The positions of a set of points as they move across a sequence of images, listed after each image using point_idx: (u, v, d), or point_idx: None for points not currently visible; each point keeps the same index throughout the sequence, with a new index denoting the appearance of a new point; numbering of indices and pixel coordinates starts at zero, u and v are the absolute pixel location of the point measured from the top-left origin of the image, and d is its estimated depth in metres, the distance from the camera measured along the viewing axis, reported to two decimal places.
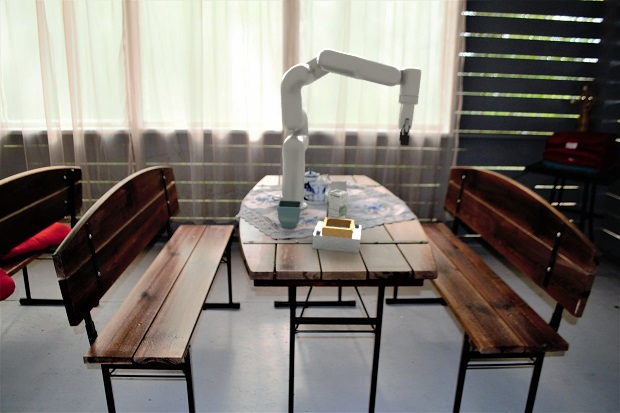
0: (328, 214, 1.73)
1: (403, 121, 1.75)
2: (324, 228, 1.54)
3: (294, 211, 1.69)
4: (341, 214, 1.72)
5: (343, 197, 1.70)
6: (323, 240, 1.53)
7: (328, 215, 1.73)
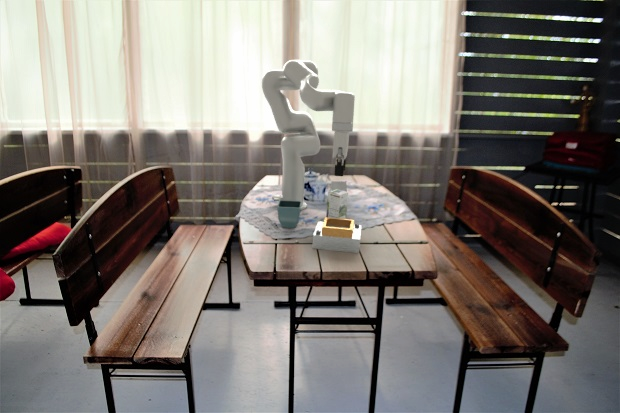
0: (328, 214, 1.73)
1: (336, 150, 1.61)
2: (324, 228, 1.54)
3: (294, 211, 1.69)
4: (342, 214, 1.72)
5: (343, 197, 1.70)
6: (323, 240, 1.53)
7: (328, 215, 1.73)
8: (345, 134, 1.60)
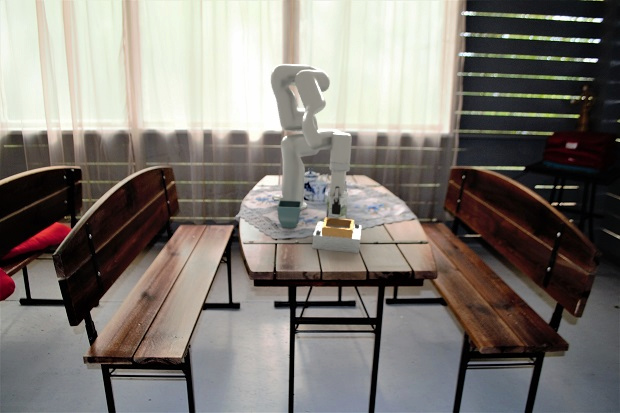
0: (328, 214, 1.73)
1: (333, 189, 1.66)
2: (324, 228, 1.54)
3: (294, 211, 1.69)
4: (342, 214, 1.72)
5: (343, 197, 1.70)
6: (323, 240, 1.53)
7: (328, 215, 1.73)
8: (342, 174, 1.65)
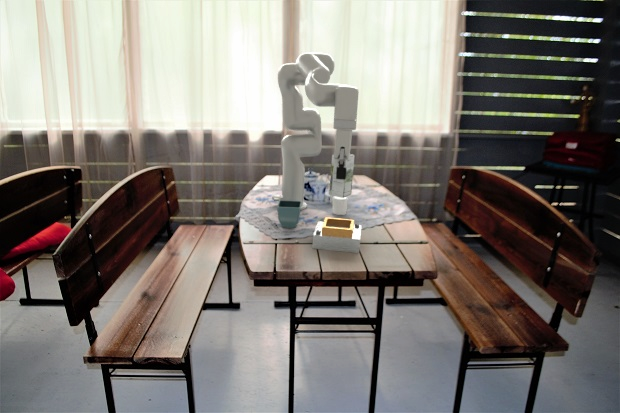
0: (332, 180, 1.54)
1: (338, 150, 1.47)
2: (324, 228, 1.54)
3: (294, 211, 1.69)
4: (347, 179, 1.53)
5: (349, 159, 1.50)
6: (323, 240, 1.53)
7: (332, 181, 1.54)
8: (348, 132, 1.46)
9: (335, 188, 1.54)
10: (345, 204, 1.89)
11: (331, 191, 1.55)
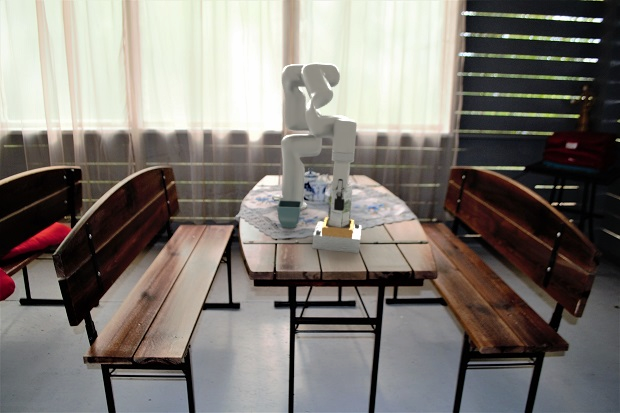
0: (330, 210, 1.55)
1: (336, 182, 1.49)
2: (324, 228, 1.54)
3: (294, 211, 1.69)
4: (345, 210, 1.54)
5: (347, 190, 1.52)
6: (323, 240, 1.53)
7: (330, 211, 1.55)
8: (346, 165, 1.47)
9: (333, 218, 1.55)
10: None
11: (330, 221, 1.56)
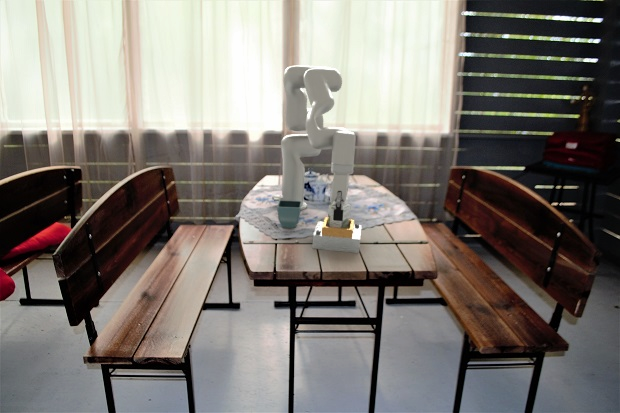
0: None
1: (335, 194, 1.50)
2: (324, 228, 1.54)
3: (294, 211, 1.69)
4: None
5: (345, 210, 1.55)
6: (323, 240, 1.53)
7: None
8: (345, 177, 1.48)
9: None
10: None
11: None
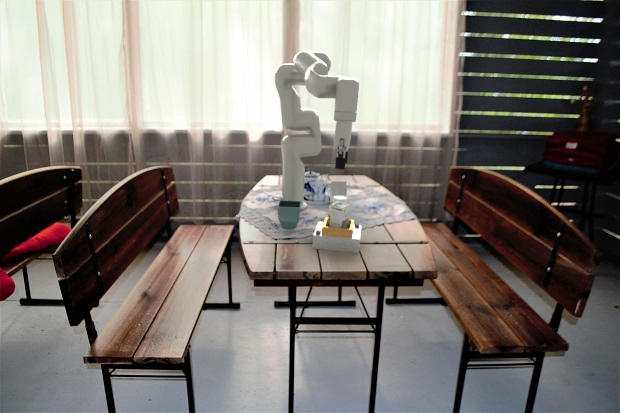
0: None
1: (337, 141, 1.50)
2: (324, 228, 1.54)
3: (294, 211, 1.69)
4: None
5: (345, 210, 1.55)
6: (323, 240, 1.53)
7: None
8: (348, 124, 1.48)
9: None
10: None
11: None
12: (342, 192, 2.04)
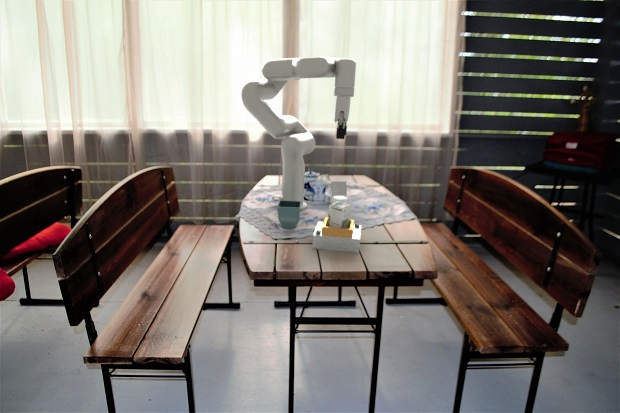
0: None
1: (338, 114, 1.70)
2: (324, 228, 1.54)
3: (294, 211, 1.69)
4: None
5: (345, 210, 1.55)
6: (323, 240, 1.53)
7: None
8: (347, 98, 1.69)
9: None
10: None
11: None
12: (342, 192, 2.04)
